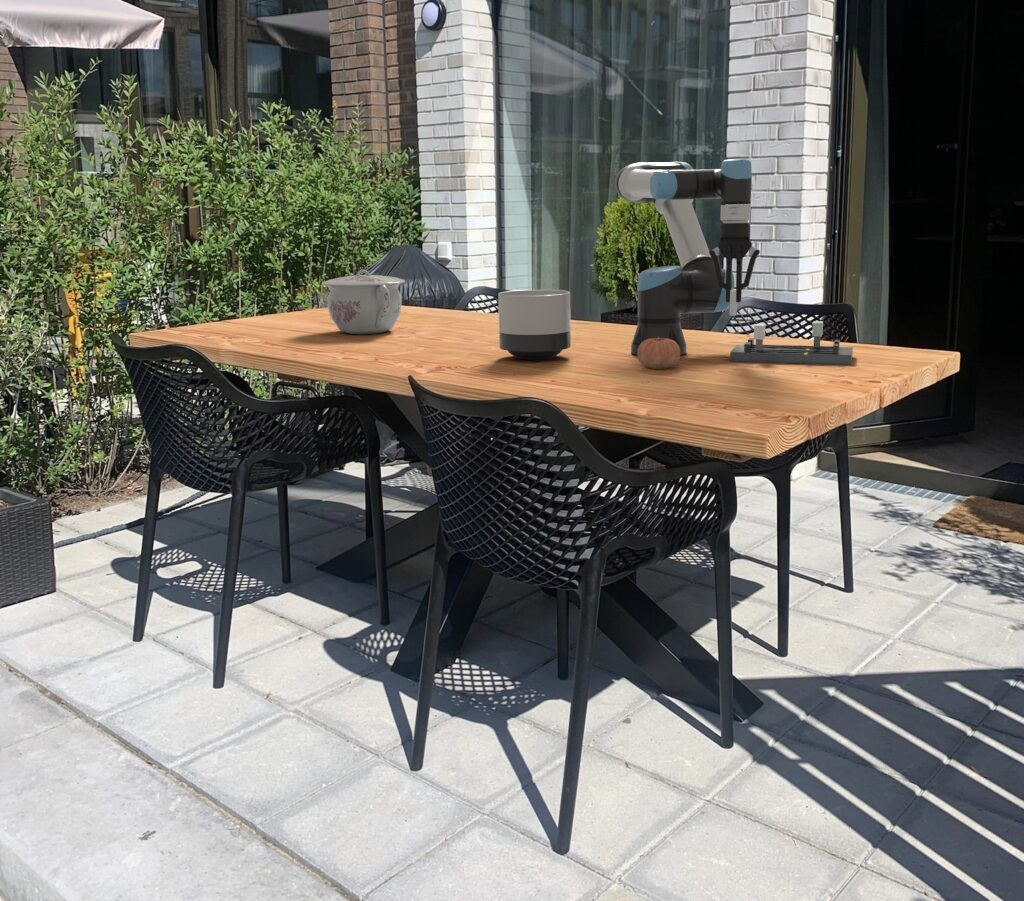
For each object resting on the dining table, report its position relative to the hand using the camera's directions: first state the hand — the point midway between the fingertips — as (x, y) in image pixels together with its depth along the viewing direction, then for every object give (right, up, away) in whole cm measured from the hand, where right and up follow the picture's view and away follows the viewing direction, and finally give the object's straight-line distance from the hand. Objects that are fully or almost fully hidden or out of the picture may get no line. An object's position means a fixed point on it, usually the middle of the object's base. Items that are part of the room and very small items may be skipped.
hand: (733, 314), depth 280 cm
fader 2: (+23, -8, +3) cm, 24 cm away
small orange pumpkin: (-20, -15, -7) cm, 26 cm away
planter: (-51, -10, +14) cm, 54 cm away
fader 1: (+7, -9, 0) cm, 11 cm away
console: (+15, -11, +1) cm, 19 cm away
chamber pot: (-106, +4, +79) cm, 132 cm away
